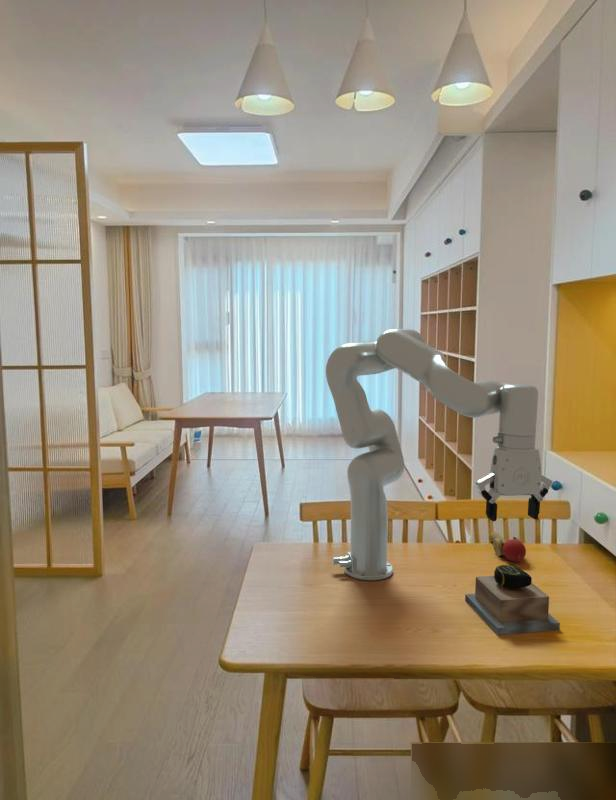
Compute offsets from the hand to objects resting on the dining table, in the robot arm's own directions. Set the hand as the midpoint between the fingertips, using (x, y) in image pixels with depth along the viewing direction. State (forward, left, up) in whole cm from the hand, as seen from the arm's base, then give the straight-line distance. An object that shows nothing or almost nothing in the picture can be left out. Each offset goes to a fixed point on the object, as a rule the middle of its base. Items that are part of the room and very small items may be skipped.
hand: (512, 518), depth 128 cm
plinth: (0, 0, -22) cm, 22 cm away
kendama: (+17, +35, -22) cm, 45 cm away
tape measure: (+1, +1, -16) cm, 16 cm away
